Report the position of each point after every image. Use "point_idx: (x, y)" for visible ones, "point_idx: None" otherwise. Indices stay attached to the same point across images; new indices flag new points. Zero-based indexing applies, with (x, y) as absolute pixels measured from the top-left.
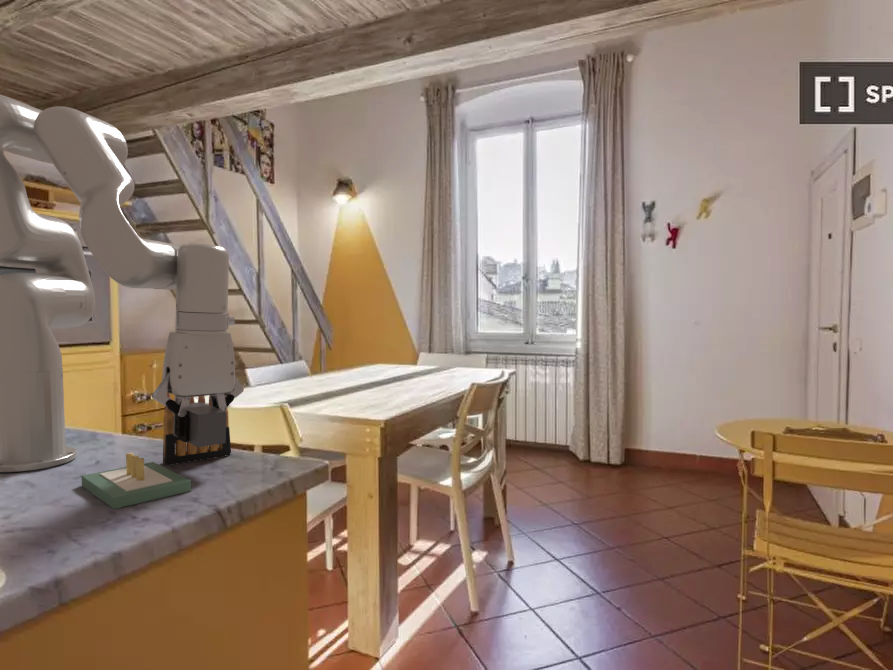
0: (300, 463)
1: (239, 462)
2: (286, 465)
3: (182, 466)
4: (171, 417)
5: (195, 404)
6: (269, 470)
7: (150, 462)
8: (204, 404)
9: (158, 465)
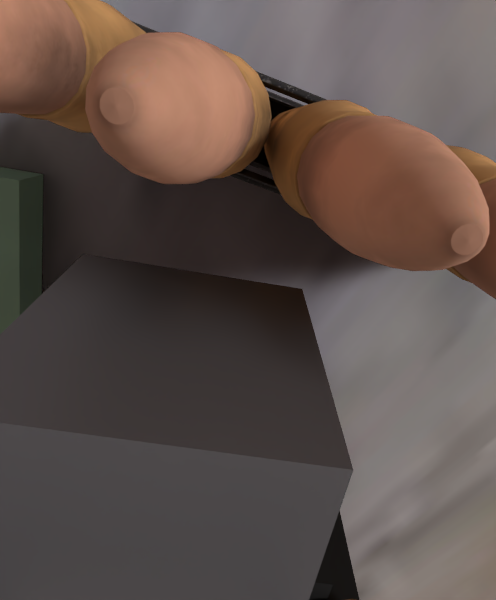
0: (489, 575)
1: (385, 384)
2: (442, 556)
3: (185, 217)
4: (82, 129)
5: (190, 545)
6: (357, 553)
7: (3, 177)
8: (280, 595)
9: (12, 274)
